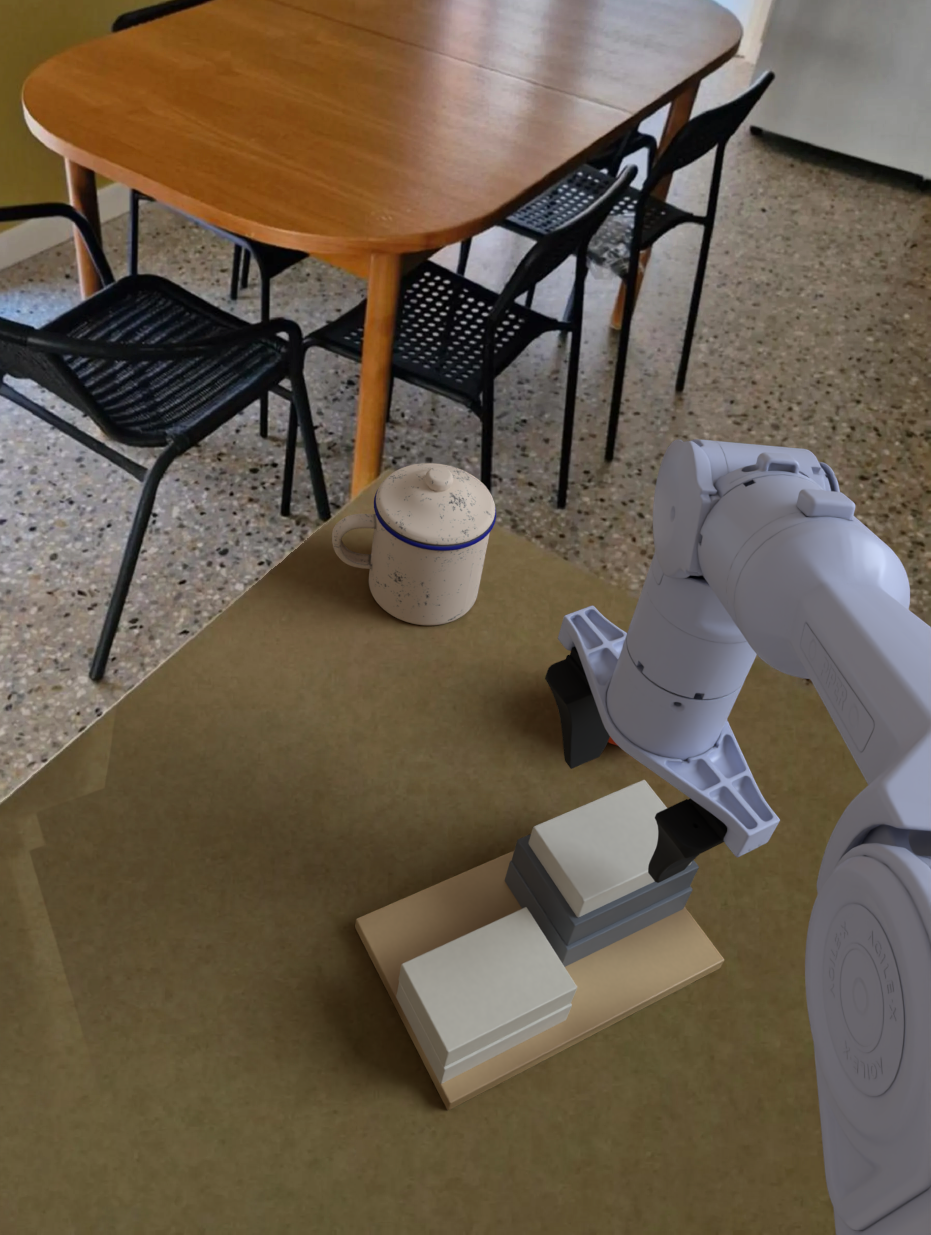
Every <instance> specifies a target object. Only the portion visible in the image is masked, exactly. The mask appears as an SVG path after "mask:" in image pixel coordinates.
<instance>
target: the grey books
mask: <svg viewBox="0 0 931 1235" xmlns="http://www.w3.org/2000/svg"><path fill="white" fill-rule="evenodd" d="M530 836H531V833H530V834H528V835H525V836H522V837H521V838H518V839H517V840H516V842H515V847H514V850H513V851H514V854H513V857H512V860H511V861H510V863H509V866H508V870H507V873H506V877H505V882H506V884H507V885H508V887H509V889H510V890H511V892H512V893H513V895H514V897H515V898H516V900H517V901H518V903H519V904H520V906H521V908H522V909H523V908H525V907H527V909H528V910H529V912H530V913H531V915H532V917H533V918H534V920H535V921H536V923H537V924H538V926H539V928H540V929H541V931H542V932H543V934H544V935H545V937H546V939H547V940H548V942H549V943H550V945H551V946H552V948H553V950H554V951H555V953H556V954H557V956H558V957H559V959H560V961H561V962H562V964H563V965H564V967H566V966H568V965H570V964H572V963H574V962H576V961H578V960H580V959H582V958H584V957H586V956H588V955H590V954H592V953H594V952H596V951H598V950H600V949H603V948H605V947H607V946H609V945H611V944H613V943H615V942H617V941H619V940H621V939H623V938H625V937H627V936H629V935H631V934H633V933H635V932H637V931H639V930H641V929H643V928H645V927H647V926H649V925H652V924H654V923H656V922H658V921H660V920H662V919H664V918H666V917H668V916H670V915H672V914H674V913H676V912H678V911H680V910H682V909H684V907H685V908H686V905H687V902H688V900H689V898H690V896H691V894H692V892H693V888H692V886H691V885H692V883H693V881H694V879H695V876H696V874H697V873H698V870H699V868H700V866H699V865H698V863H697V862H696V861H695V859H694V860H693V861H692V862H691V864H690V865H689V866H687V867H686V869H685V870H683V871H681V872H679V873H677V874H675V875H673V876H671V877H669V878H667V879H665V880H663V881H661V882H659V883H656V882H653V883H651V884H648V885H646V886H644V887H642V888H640V889H638V890H636V891H634V892H631V893H629V894H627V895H625V896H623V897H621V898H619V899H617V900H615V901H612V902H610V903H608V904H606V905H604V906H602V907H600V908H598V909H595V910H593V911H591V912H589V913H587V914H585V915H583V916H581V917H577V916H576V915H575V913H574V912H573V910H572V909H571V907H570V906H569V904H568V903H567V901H566V900H565V898H564V897H563V895H562V894H561V892H560V891H559V889H558V888H557V886H556V885H555V883H554V882H553V880H552V879H551V877H550V876H549V874H548V873H547V871H546V870H545V868H544V867H543V865H542V864H541V862H540V861H539V859H538V858H537V856H536V855H535V853H534V852H533V850H532V849H531V847H530V846H529V840H530Z"/></svg>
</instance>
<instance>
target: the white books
mask: <svg viewBox="0 0 931 1235" xmlns="http://www.w3.org/2000/svg"><path fill="white" fill-rule="evenodd" d="M576 990H577V986H576V984H575V983H574V981H573V980H572V978H571V976H570V975H569V973H568V972H567V970H566V969H565V967H564V965H563V964H562V962H561V961H560V959H559V957H558V956H557V954H556V953H555V951H554V950H553V948H552V946H551V945H550V943H549V942H548V940H547V939H546V937H545V935H544V934H543V932H542V931H541V929H540V928H539V926H538V924H537V923H536V921H535V920H534V918H533V917H532V915H531V913H530V912H529V910H528V909H527V907H525V908H523V909H521V910H518V911H516V912H514V913H512V914H510V915H507V916H505V917H503V918H501V919H499V920H496V921H494V922H492V923H490V924H488V925H486V926H483V927H481V928H479V929H477V930H475V931H472V932H470V933H468V934H466V935H464V936H462V937H459V938H457V939H455V940H453V941H451V942H448V943H446V944H444V945H442V946H440V947H437V948H435V949H433V950H431V951H429V952H427V953H424V954H422V955H420V956H418V957H416V958H413V959H411V960H409V961H407V962H405V963H403V964H402V965H401V970H400V975H399V985H398V990H397V995H396V998H397V1000H398V1002H399V1004H400V1006H401V1008H402V1010H403V1012H404V1014H405V1016H406V1018H407V1020H408V1021H409V1023H410V1025H411V1027H412V1029H413V1031H414V1033H415V1035H416V1037H417V1039H418V1041H419V1043H420V1045H421V1047H422V1049H423V1051H424V1053H425V1055H426V1057H427V1059H428V1061H429V1063H430V1065H431V1067H432V1069H433V1071H434V1073H435V1074H436V1076H437V1078H438V1080H439V1082H440V1084H442V1083H444V1082H446V1081H448V1080H450V1079H452V1078H454V1077H456V1076H458V1075H460V1074H462V1073H464V1072H465V1071H467V1070H469V1069H471V1068H473V1067H475V1066H477V1065H479V1064H481V1063H483V1062H485V1061H487V1060H489V1059H491V1058H493V1057H495V1056H497V1055H499V1054H501V1053H503V1052H505V1051H506V1050H508V1049H510V1048H512V1047H514V1046H516V1045H518V1044H520V1043H522V1042H524V1041H526V1040H528V1039H530V1038H532V1037H534V1036H536V1035H538V1034H540V1033H542V1032H544V1031H546V1030H548V1029H549V1028H551V1027H553V1026H555V1025H557V1024H559V1023H561V1022H563V1021H565V1020H566V1019H567V1016H568V1014H569V1011H570V1009H571V1006H572V1004H571V1002H572V999H573V997H574V994H575V992H576Z"/></svg>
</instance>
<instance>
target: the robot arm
mask: <svg viewBox="0 0 931 1235" xmlns="http://www.w3.org/2000/svg"><path fill="white" fill-rule="evenodd" d="M855 511H856V504H855V502H854V501H853V500H852V499H850V498H849V497H848V496H846V494H844V493H843V492H841V490H840V484H839V482H838V478H837V477H836V473H835V472H834V470H833V468H832V467H830V465H828V464H827V463H826V462H822V461H819V460H818V457H817V456H816V455H815V454H814V453H813V452H812V451H811V450H809V449H806V448H801V447H799V448H798V447H788V446H777V445H765V444H754V443H743V442H735V441H734V442H732V441H724V440H723V441H721V440H710V439H700V438H694V439H691V440H685V441H683V440H682V439H680V438H679V439H678V438H677V439H675V440H673V441H672V442H671V443H670V444H669V445H668V447H667V448H666V450H665V452H664V454H663V456H662V459H661V463H660V465H659V469H658V472H657V477H656V482H655V488H654V494H653V504H652V536H653V545H654V553H653V555H652V559H651V561H650V565H649V568H648V570H647V572H646V576H645V579H644V582H643V586H642V588H641V591H640V594H639V597H638V599H637V603H636V606H635V609H634V611H633V615H632V618H631V620H630V624H629V626H628V630H627V632H626V631H625V630H623V629H621V628H620V627H618V626H617V625H615V624H614V623H613V622H611V621H610V620H609V619H608V618H607V617H605V615H603V614H602V613H601V612H600V611H599V610H598V608H596V607H595V605H589V606H586V607H584V608H580V609H578V610H576V611H573V612H571V613H570V612H569V613H568V614H564V615H563V619H562V622H561V625H560V629H559V632H558V635H557V641H559V643H560V644H561V646H562V647H563V648H564V649H565V650H567V651H569V654H567V655H566V656H565V658H564V659H562V660H559V661H556V662H554V663H552V664H550V666H549V667H548V668H547V671H546V674H545V678H544V680H545V682H546V684H547V686H548V687H549V690H550V691H551V693H552V696H553V698H554V701H555V704H556V707H557V712H558V714H559V720H560V726H561V727H560V728H561V736H562V737H561V738H562V749H563V758H564V762H565V764H566V765H567V766H568V767H569V769H570V770H572V769H574V768H577V767H579V766H581V765H583V764H586V763H589V762H591V761H593V760H596V759H597V758H600V757H601V755H602V753H603V752H604V750H605V748H606V747H607V745H608V743H609V742H608V740H609V738H610V737H611V738H612V739H613V741H614V742H615V743H616V744H617V745H618V746H617V745H616V746H617V747H619V748H620V749H621V750H622V751H623V752H625V753H626V754H627V755H629V756H630V757H632V758H633V759H634V760H636V761H637V762H638V763H640V764H641V765H642V766H644V767H645V768H647V769H648V770H649V771H651V772H653V774H655V775H657V776H658V777H659V778H661V779H662V780H664V781H665V782H666V783H668V784H669V785H671V786H672V787H674V788H675V789H677V791H679V792H680V793H682V794H683V795H685V796H686V797H687V798H686V799H683V800H682V801H679V802H677V803H675V804H673V805H671V806H669V807H667V809H665V810H662V811H660V812H658V813H657V814H656V816H655V820H656V822H657V825H658V841H657V846H656V849H655V851H654V854H653V856H652V858H651V860H650V863H649V866H648V873H649V874H650V876H651V877H652V878H653V880H654V881H655V882H656V883H659V882H661V881H663V880H665V879H667V878H669V877H671V876H673V875H675V874H677V873H679V872H681V871H683V870H685V869H686V867H687V866H688V865H689V864H690V863H691V862H692V861H693V860H694V861H695V859H696V858H697V857H698V856H700V855H701V854H703V853H705V852H707V851H709V850H711V849H713V848H714V847H718V846H719V845H721V844H723V843H724V844H725V845H726V847H727V848H728V849H729V850H730V852H731V853H732V854H733V856H734V857H736V858H739V857H742V856H744V855H745V854H747V853H748V854H749V853H750V852H752V851H754V850H756V849H758V848H759V847H761V846H764V845H766V844H768V843H769V841H770V839H771V838H772V835H773V834H774V832H775V831H776V828H777V827H778V825H779V824H780V822H781V819H780V818H779V816H778V815H777V814H776V813H775V811H774V810H773V808H771V806H770V805H769V803H768V802H767V801H766V798H765V797H764V796H763V794H762V792H761V790H760V788H759V786H758V784H757V783H756V780H755V778H754V775H753V774H752V771H751V769H750V767H749V764H748V762H747V760H746V758H745V756H744V754H743V751H742V750H741V747H740V745H739V742H738V740H737V739H736V738H737V737H736V735H735V734H734V732H733V730H732V727H731V726H730V723H729V721H728V718H729V716H730V714H731V713H732V710H733V707H734V705H735V703H736V701H737V698H738V697H739V694H740V692H741V691H742V688H743V686H744V684H745V681H746V679H747V676H748V674H749V673H750V670H751V668H752V666H753V664H754V662H755V659H756V658H757V656H758V658H759V659H761V660H762V662H764V663H765V664H767V665H768V666H770V667H771V668H772V669H774V670H777V671H779V672H780V673H782V674H785V675H788V676H790V677H794V678H799V679H804V680H810V681H811V683H812V685H813V687H814V689H815V690H816V692H817V694H818V696H819V698H820V699H821V701H822V703H823V704H824V707H825V709H826V711H827V712H828V714H829V716H830V718H831V719H832V721H833V723H834V725H835V727H836V729H837V731H838V733H839V734H840V736H841V738H842V740H843V741H844V743H845V745H846V747H847V749H848V751H849V752H850V755H851V756H852V758H853V760H854V762H855V764H856V765H857V767H858V769H859V771H860V773H861V775H862V776H863V778H864V780H865V782H866V783H867V786H865V788H864V789H862V790H861V791H860V792H859V793H858V794H857V795H856V796H855V797H854V798H853V799H852V800H851V801H850V802H849V804H848V805H847V806H846V807H845V809H844V811H843V812H842V814H841V815H840V817H839V819H838V820H837V822H836V824H835V826H834V828H833V830H832V832H831V834H830V836H829V839H828V842H827V844H826V847H825V849H824V852H823V856H822V859H821V863H820V867H819V871H818V875H817V880H816V892H817V895H816V898H815V900H814V903H813V905H812V909H811V912H810V917H809V922H808V926H807V933H806V941H805V953H804V954H805V956H804V981H805V983H804V984H805V998H806V1007H807V1014H808V1021H809V1027H810V1032H811V1037H812V1042H813V1051H814V1052H813V1053H814V1062H815V1074H816V1086H817V1095H818V1096H817V1097H818V1098H817V1099H818V1107H819V1119H820V1131H821V1142H822V1154H823V1164H824V1165H823V1166H824V1176H825V1182H826V1188H827V1193H828V1196H829V1199H830V1202H831V1205H832V1207H833V1219H834V1228H835V1235H931V625H929V624H927V623H926V622H925V621H924V620H923V619H921V618H920V617H919V616H918V615H916V614H915V613H914V612H912V611H911V610H910V605H911V604H910V603H911V586H910V581H909V580H910V579H909V576H908V573H907V571H906V569H905V567H904V565H903V563H902V561H901V559H900V557H898V556H897V554H896V553H895V551H894V550H893V549H892V548H891V547H890V546H889V545H887V543H885V541H883V540H882V539H880V537H879V536H878V535H876V534H875V533H874V532H873V531H872V530H870V529H869V528H868V526H866V525H865V524H864V523H863V522H861V520H859V519H858V518H857V517H856V516H855Z"/></svg>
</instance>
